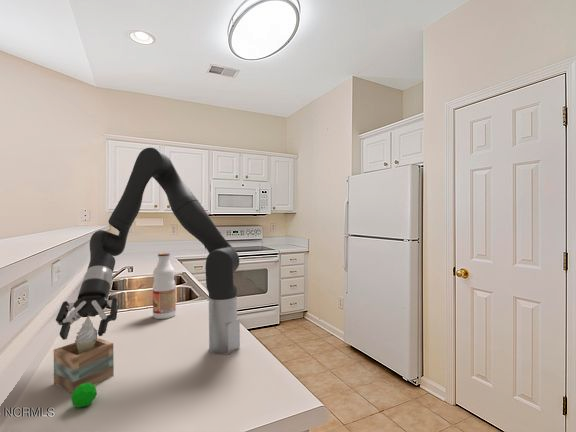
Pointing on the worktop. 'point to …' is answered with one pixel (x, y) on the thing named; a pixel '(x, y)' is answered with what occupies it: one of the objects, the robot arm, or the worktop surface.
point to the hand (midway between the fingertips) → (82, 336)
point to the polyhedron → (84, 395)
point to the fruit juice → (164, 288)
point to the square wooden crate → (83, 365)
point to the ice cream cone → (86, 336)
